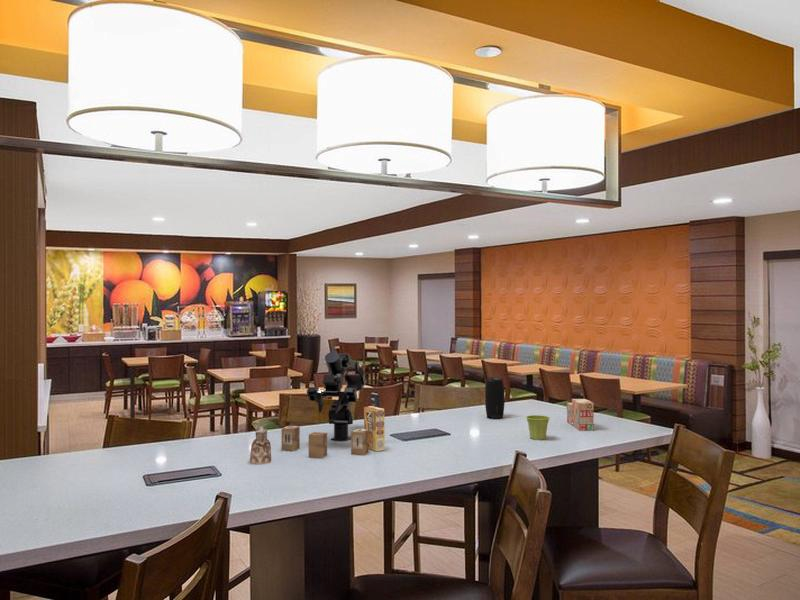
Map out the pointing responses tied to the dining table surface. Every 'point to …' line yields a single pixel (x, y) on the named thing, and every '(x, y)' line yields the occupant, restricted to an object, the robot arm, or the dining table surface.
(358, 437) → the tile block
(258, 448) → the figurine
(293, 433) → the tile block
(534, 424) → the plant pot
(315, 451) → the plain block
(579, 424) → the patterned cardboard box
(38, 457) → the dining table surface
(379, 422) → the candy box
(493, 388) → the portable speaker
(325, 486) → the dining table surface
